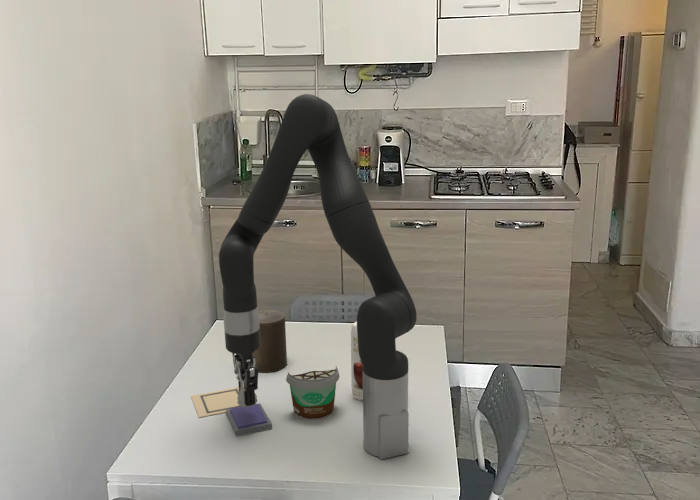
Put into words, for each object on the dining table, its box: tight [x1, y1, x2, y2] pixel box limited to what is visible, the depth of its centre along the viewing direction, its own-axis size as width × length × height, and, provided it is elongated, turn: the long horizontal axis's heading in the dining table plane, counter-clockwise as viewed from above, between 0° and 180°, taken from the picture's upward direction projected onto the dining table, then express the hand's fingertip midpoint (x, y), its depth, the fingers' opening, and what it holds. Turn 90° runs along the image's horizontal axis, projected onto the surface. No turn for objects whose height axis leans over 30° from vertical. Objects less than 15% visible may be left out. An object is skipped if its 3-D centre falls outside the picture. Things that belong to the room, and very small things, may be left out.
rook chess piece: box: [237, 373, 258, 407], centre depth 150 cm, size 4×4×8 cm
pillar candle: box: [252, 309, 288, 373], centre depth 179 cm, size 10×10×15 cm
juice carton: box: [350, 320, 363, 401], centre depth 161 cm, size 8×9×19 cm
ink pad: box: [225, 403, 273, 437], centre depth 153 cm, size 10×8×2 cm
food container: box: [285, 365, 340, 420], centre depth 154 cm, size 12×6×10 cm, turn 105°
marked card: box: [190, 386, 241, 419], centre depth 162 cm, size 11×13×1 cm
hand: (247, 399), depth 151 cm, fingers closed on rook chess piece, 4 cm apart
